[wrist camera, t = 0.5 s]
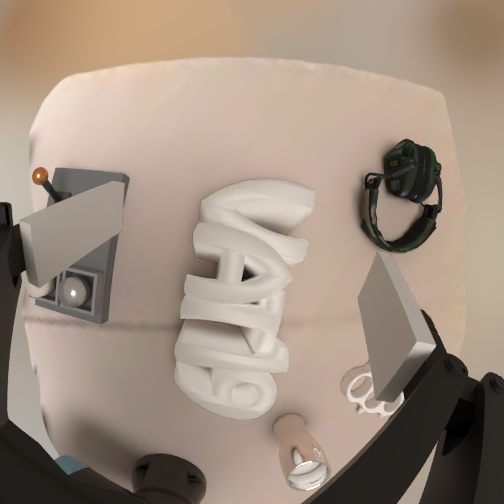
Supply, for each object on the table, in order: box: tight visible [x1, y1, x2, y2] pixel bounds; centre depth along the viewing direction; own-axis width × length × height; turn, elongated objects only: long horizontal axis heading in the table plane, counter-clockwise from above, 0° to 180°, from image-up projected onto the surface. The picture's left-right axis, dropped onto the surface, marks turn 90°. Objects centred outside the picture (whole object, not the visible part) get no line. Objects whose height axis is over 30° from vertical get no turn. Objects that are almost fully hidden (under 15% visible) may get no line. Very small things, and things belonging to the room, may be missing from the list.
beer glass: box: [273, 414, 331, 491], centre depth 40 cm, size 7×7×15 cm
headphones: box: [360, 139, 442, 254], centre depth 45 cm, size 13×13×20 cm
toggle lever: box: [32, 167, 62, 203], centre depth 36 cm, size 3×3×9 cm
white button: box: [25, 274, 55, 297], centre depth 37 cm, size 4×4×3 cm
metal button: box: [58, 276, 90, 308], centre depth 38 cm, size 4×4×3 cm
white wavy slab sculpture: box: [174, 179, 316, 420], centre depth 42 cm, size 35×16×10 cm, turn 167°
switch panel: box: [29, 168, 130, 324], centre depth 42 cm, size 24×14×6 cm, turn 171°
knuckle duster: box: [341, 361, 404, 418], centre depth 47 cm, size 3×18×15 cm
